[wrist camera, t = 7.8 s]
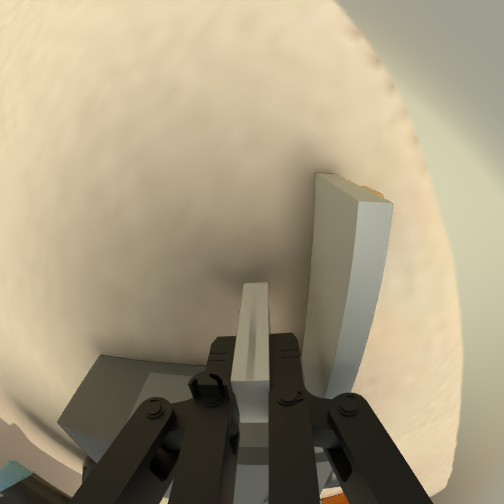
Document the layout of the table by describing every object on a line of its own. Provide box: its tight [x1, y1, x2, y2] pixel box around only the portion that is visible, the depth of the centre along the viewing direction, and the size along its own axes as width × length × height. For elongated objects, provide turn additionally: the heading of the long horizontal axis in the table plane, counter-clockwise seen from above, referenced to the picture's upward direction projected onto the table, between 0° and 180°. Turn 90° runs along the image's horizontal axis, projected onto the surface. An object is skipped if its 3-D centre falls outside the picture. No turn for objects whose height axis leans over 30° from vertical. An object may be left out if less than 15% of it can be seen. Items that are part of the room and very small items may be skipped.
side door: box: [300, 173, 393, 453], centre depth 12 cm, size 13×2×7 cm, turn 1°
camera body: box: [57, 355, 340, 504], centre depth 17 cm, size 21×12×9 cm, turn 94°
